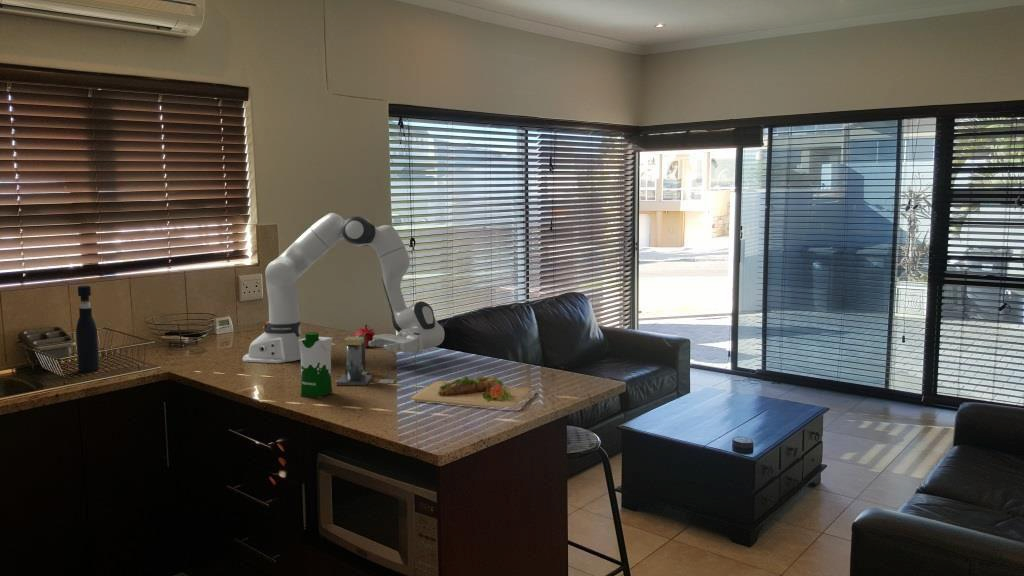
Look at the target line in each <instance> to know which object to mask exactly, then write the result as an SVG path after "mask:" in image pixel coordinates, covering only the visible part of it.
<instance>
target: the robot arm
mask: <svg viewBox="0 0 1024 576" xmlns="http://www.w3.org/2000/svg"><path fill="white" fill-rule="evenodd" d="M342 240H345V241H346V242H347V243H349V244H350V245H353V246H356V247H366V246H369V245H370V246H371V247H372V249H374V252H375V253H376V256H377V258H378V260H379V263H380V267H381V271H382V272H381V273H382V277H381V280H382V281H381V282H382V285H383V288H384V293H385V295H386V296H385V297H386V299H387V301H388V305H389V308H390V313H391V320H392V326H393V328H394V329H395V331H397V334H392V333H382V334H375V335H374V336H373V340H372V341H369V346H373V347H375V346H377V347H381V348H384V350H385V351H390V350H392V351H399V352H402V353H404V354H405V353H406V354H407V353H408V354H409V353H422V352H423V351H424V350H428V349H433V348H436V347H438V346H439V345H441V344H442V343H443V341H444V339H445V334H446V333H445V330H444V327H443V326H442V325H441V324H439V322H438V321H437V319H436V317H435V314H434V310H433V307H431V304H429V303H427V302H425V301H418V302H416V303H412V304H411V305H409V306H407V305H406V302H405V298H404V296H403V292H402V289H401V288H402V287H401V282H402V280H403V278H404V276H405V274H406V273H407V272H408V270H409V267H410V264H411V261H410V256H409V252H408V250H407V248H406V247H405V244H404V242H403V240H402V238H401V236H400V235H399V233H398V231H397V230H396V229H395V227H394V226H392V225H389V224H384V225H380V226H375V225H374V224H373V222H371V220H369V219H367V218H366V217H362V216H358V215H357V216H356V215H353V216H350V217H348V218H347V219H344V218H343V217H342V216H341V215H340V214H338V213H335V212H329V213H327V214H326V215H324V216H323V217H321V218H320V219H318V220H316V221H315V222H314V223H313V224H312V225H311V226H309V228H308V229H306V230H305V231H304V232H303V233H302V234H301V235H299V236H298V237H297V239H296V240H295V241H293V242H292V243H291V244H290V245H289V247H287V248H286V249H285V250H284V251H283V252H282V253H281V254H280V255H279V256H278V257H276V258H275V259H274V260H272V261H270V262H269V263H268V265H267V266H266V268H265V271H264V272H265V274H264V276H265V286H266V293H267V294H266V295H267V301H268V302H267V303H268V320H269V321H266V322H265V324H264V325H263V328H262V329H263V330H264V332H262V334H260V335H259V336H257V337H256V338H255V339H254V340H253V341H251V343H250V344H249V348H248V353H246V354H245V355H243V357H242V362H249V363H250V362H251V363H264V364H265V363H266V364H267V363H268V364H284V363H287V362H294V361H298V360H301V352H300V346H299V340H301V334H302V330H301V329H302V327H301V321H300V308H299V307H300V305H299V304H300V303H299V302H300V301H299V296H298V287H297V281H298V279H299V278H300V277H301V276H303V274H304V273H305V272H307V270H309V269H310V268H311V267H312V266H314V264H315V263H317V261H318V260H319V259H321V258H322V257H323V256H324V255H325V254H326V253H327V252H328V251H329V250H331V248H333V247H334V246H335V245H336V244H337V243H338V242H340V241H342Z"/></svg>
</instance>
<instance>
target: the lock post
mask: <svg viewBox="0 0 1024 576" xmlns="http://www.w3.org/2000/svg"><path fill="white" fill-rule="evenodd" d="M345 346H346V349H345V350H346V352H345V353H346V363H345V366H344V367H345V368H344V369H345V374H342V375H340V377H339V379H338V380H337V381H336V386H337V385H367V384H368V385H369V383H370V382H369V381H371V380H372V375H371V374H367V373H369V371H363V370H362V345H345ZM370 379H371V380H370ZM394 381H395V382H396V379H391V378H390V379H389V378H388V379H387V378H386V379H384V378H382V379H380V380H379V381H378V383H385V384H384V385H387V384H386V383H395V382H394ZM368 382H369V383H368ZM368 385H367V386H368Z"/></svg>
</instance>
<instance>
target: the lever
mask: <svg viewBox="0 0 1024 576" xmlns="http://www.w3.org/2000/svg"><path fill="white" fill-rule="evenodd" d="M346 345H362V371H364V370H366V367H367V366H366V348H365V335H356V337H354V336H346V337H344V339H343V346H346Z"/></svg>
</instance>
